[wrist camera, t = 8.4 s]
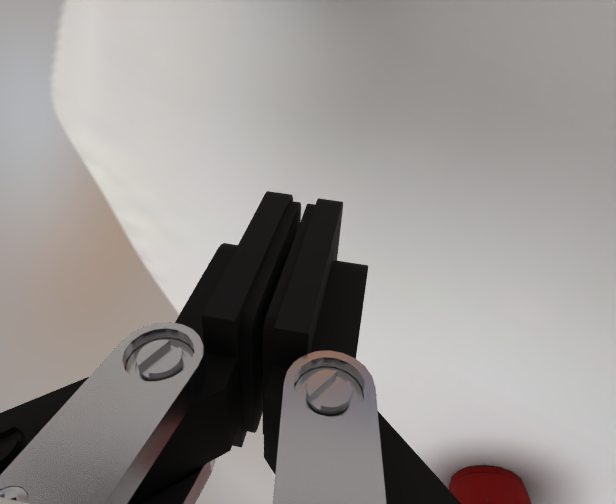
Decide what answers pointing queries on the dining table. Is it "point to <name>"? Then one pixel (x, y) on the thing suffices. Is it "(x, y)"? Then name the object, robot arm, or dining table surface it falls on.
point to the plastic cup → (488, 486)
